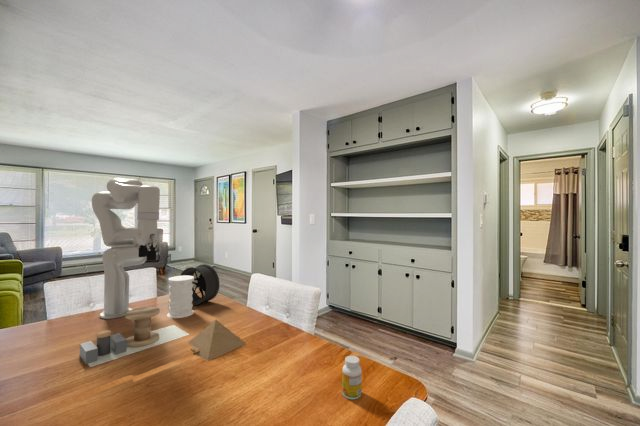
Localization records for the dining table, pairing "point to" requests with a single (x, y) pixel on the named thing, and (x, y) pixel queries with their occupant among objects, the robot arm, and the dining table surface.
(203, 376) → the dining table surface
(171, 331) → the base board
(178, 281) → the decorative container
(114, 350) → the terminal block
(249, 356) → the dining table surface
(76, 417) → the dining table surface
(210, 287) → the wheel rim
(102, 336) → the plug
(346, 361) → the supplement bottle
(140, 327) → the bobbin
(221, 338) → the model pyramid
